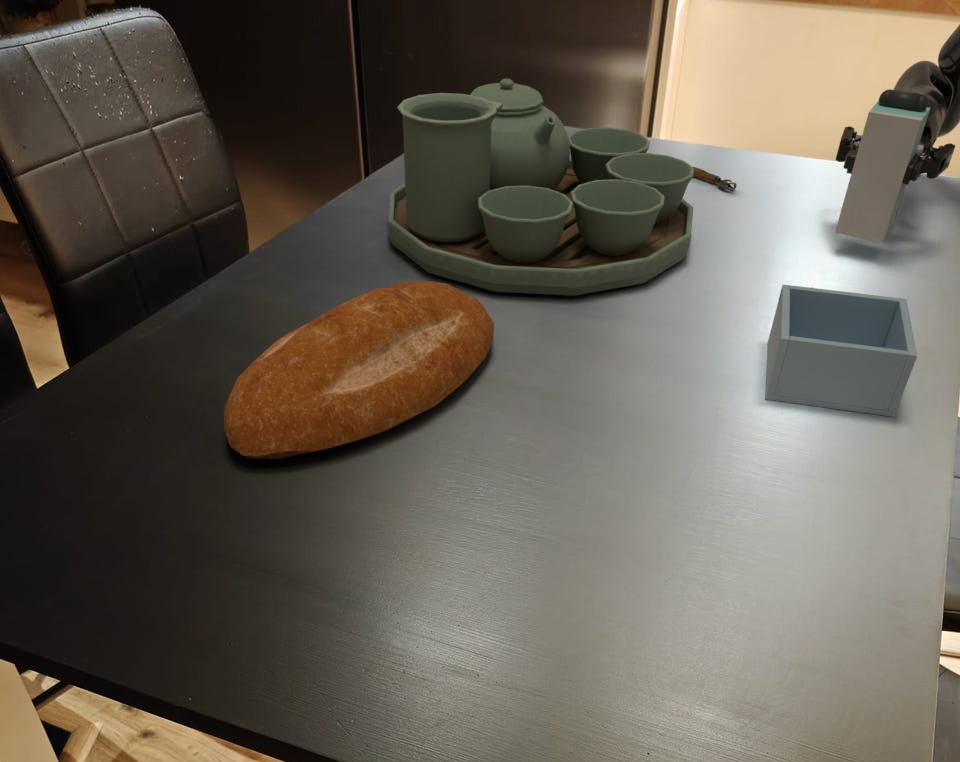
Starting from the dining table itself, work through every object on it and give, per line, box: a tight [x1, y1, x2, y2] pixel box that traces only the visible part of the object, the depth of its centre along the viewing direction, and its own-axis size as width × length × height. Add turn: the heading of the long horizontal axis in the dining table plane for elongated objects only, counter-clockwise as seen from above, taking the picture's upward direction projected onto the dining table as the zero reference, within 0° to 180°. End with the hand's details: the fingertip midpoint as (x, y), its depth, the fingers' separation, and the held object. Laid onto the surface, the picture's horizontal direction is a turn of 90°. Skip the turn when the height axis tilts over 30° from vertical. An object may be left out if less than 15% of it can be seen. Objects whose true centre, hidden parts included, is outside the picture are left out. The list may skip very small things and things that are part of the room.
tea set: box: [387, 78, 694, 297], centre depth 118 cm, size 40×40×16 cm
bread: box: [223, 280, 495, 460], centre depth 91 cm, size 18×35×9 cm, turn 142°
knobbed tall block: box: [834, 88, 930, 243], centre depth 114 cm, size 6×6×16 cm
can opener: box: [692, 166, 737, 191], centre depth 138 cm, size 9×2×1 cm, turn 34°
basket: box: [764, 284, 918, 418], centre depth 96 cm, size 13×13×7 cm
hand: (879, 170), depth 113 cm, fingers closed on knobbed tall block, 6 cm apart
